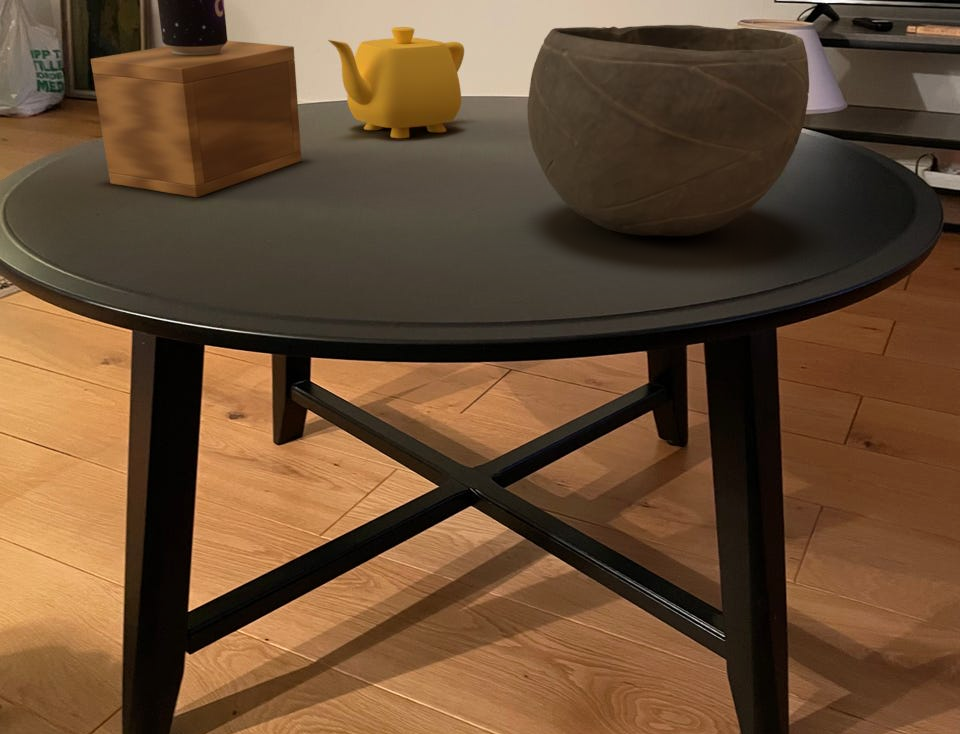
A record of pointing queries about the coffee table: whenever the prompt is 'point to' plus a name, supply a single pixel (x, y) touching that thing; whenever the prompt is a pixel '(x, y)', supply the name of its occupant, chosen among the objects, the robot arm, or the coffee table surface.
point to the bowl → (666, 122)
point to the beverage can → (193, 26)
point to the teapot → (402, 82)
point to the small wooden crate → (197, 116)
